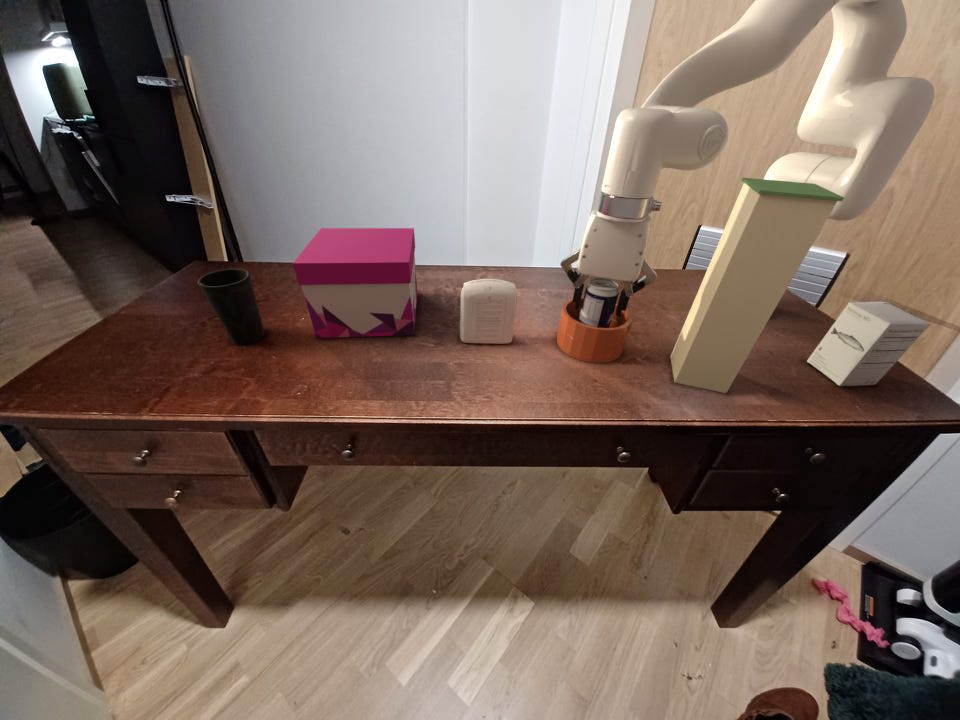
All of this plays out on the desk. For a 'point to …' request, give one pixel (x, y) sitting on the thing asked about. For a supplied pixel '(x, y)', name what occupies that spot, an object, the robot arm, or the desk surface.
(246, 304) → the cup
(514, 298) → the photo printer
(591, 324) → the beverage can
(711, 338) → the plant stand
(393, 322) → the decorative box
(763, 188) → the mat
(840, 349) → the white packaging box
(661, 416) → the desk surface
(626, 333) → the pot
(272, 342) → the desk surface
